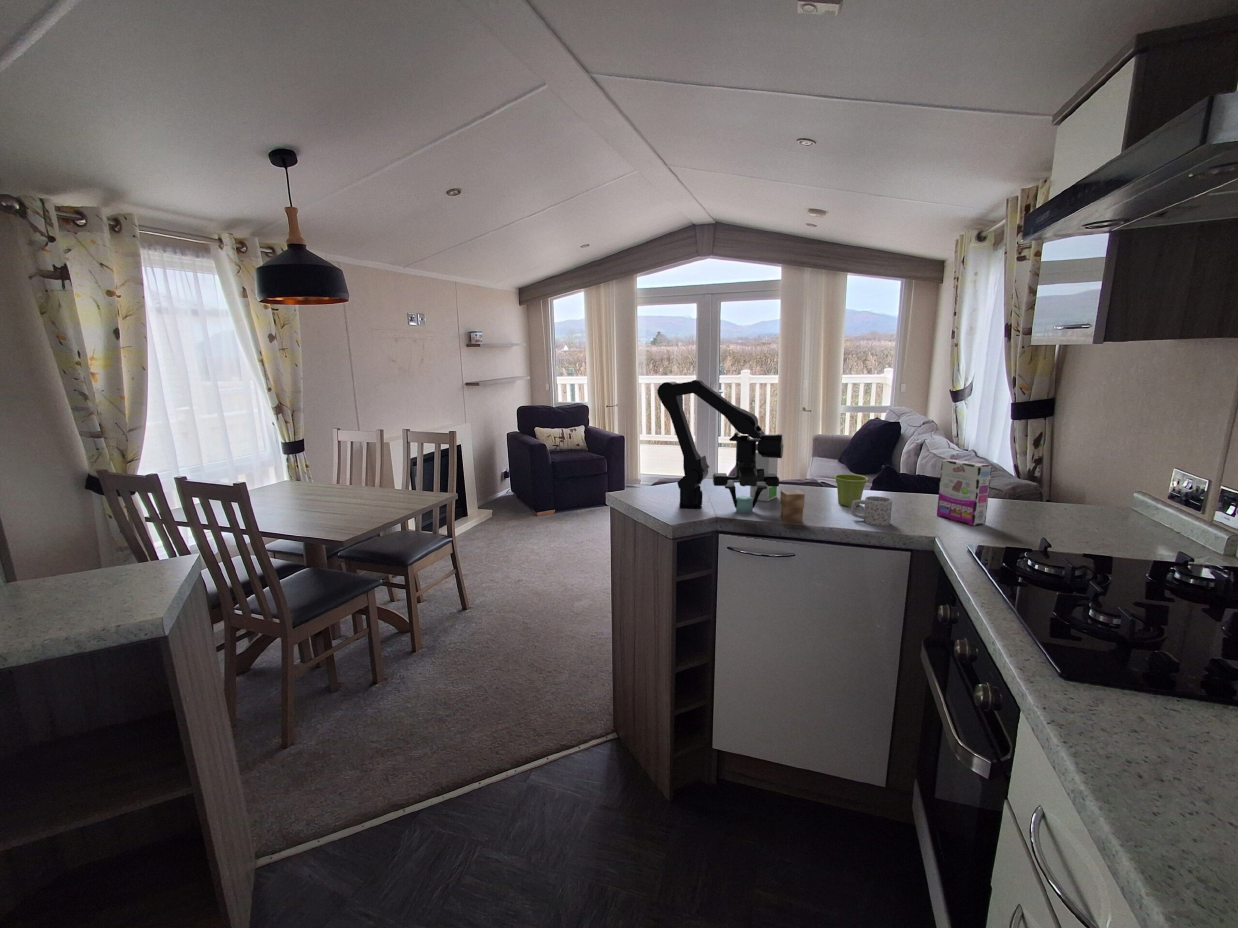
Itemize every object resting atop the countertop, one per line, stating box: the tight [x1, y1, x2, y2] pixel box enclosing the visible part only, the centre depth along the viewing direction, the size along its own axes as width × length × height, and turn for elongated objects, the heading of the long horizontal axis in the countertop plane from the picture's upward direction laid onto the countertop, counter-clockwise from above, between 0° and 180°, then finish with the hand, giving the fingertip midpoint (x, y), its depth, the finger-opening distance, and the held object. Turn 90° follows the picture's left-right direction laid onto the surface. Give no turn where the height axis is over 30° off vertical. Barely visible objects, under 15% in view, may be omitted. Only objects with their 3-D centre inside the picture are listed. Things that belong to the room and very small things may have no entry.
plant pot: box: [834, 473, 869, 508], centre depth 163 cm, size 9×9×9 cm
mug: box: [850, 495, 893, 527], centre depth 146 cm, size 10×7×7 cm, turn 59°
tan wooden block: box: [779, 489, 806, 509], centre depth 149 cm, size 5×5×4 cm
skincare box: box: [749, 450, 779, 502], centre depth 172 cm, size 8×7×16 cm
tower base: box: [780, 504, 804, 523], centre depth 149 cm, size 5×5×4 cm
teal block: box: [735, 495, 754, 514], centre depth 158 cm, size 5×5×4 cm
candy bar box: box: [936, 458, 993, 527], centre depth 145 cm, size 11×5×16 cm, turn 21°
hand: (744, 507), depth 158 cm, fingers closed on teal block, 5 cm apart
